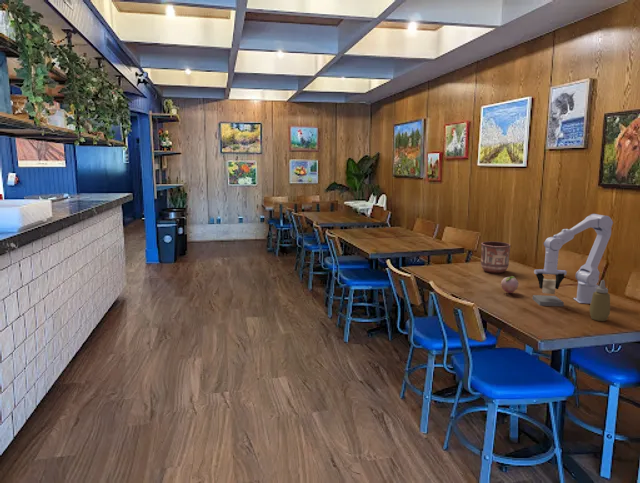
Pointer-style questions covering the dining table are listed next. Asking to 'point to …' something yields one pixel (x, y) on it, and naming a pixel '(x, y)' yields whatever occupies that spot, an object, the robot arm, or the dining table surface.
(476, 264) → the dining table surface
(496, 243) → the pottery
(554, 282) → the birch cube
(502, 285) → the decorative fruit
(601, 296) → the squeeze bottle
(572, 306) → the dining table surface
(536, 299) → the charcoal base
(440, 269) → the dining table surface
